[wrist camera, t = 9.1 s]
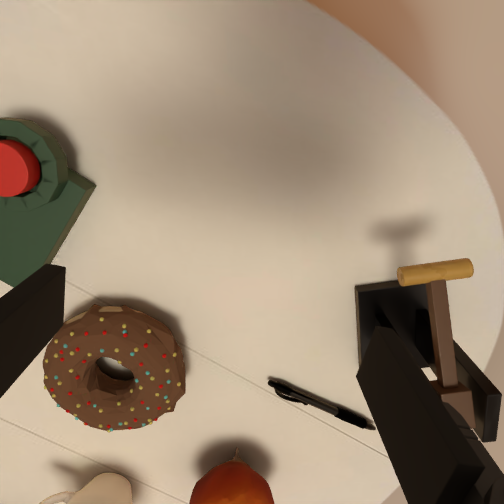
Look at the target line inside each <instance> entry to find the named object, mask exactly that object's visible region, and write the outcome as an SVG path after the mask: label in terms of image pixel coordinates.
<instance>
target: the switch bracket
mask: <svg viewBox="0 0 504 504" xmlns="http://www.w3.org/2000/svg"><path fill="white" fill-rule="evenodd" d="M355 298H356V317H357V336H358V355H359V368H360V365H361V362H362V360H363V357H364V355H365V352H366V350H367V347H368V345H369V342H370V340H371V337H372V334H373V332H374V329H375V327H376V326H380V327H385V328H391V329H393V330H394V332H395V333H396V335H397V336H398V338H399V339H400V341H401V342H402V344H403V345H404V347H405V348H406V350H407V351H408V353H409V354H410V356H411V357H412V359H413V360H414V361H415V363H416V364H417V366H418V367H419V369H420V370H421V372H422V373H423V375H424V376H425V378H426V379H427V381H428V382H429V384H430V385H431V387H432V388H433V390H434V391H435V393H436V394H437V396H438V397H439V399H440V400H441V402H443V401H442V399H441V398H440V396H439V395H438V393H437V392H436V390H435V389H434V387H433V386H432V384H431V383H430V381H429V380H428V378H427V377H426V375H425V374H424V372H423V371H422V369H421V368H425V367H430V368H431V369H432V371H433V372H434V374H435V375H436V377H437V372H436V364H435V356H434V348H433V340H432V332H431V324H430V316H429V308H428V300H427V291H426V283H425V284H417V285H410V286H401V285H400V284H399V281H392V282H384V283H377V284H369V285H362V286H355ZM453 345H454V353H455V362H456V370H457V378H458V381H459V382H461V383H462V384H463V385H465V386H466V387H467V388H469V389H470V390H471V391H472V399H473V407H474V416H475V424H476V428H473V429H474V431H475V432H476V434H477V435H478V436H479V438H480V439H481V441H482V442H492V441H496V437H497V430H498V421H499V412H500V405H501V397H502V394H501V393H500V391H499V390H498V389H497V388H496V387H495V386H494V385H493V384H492V382H491V381H490V380H489V379H488V378H487V377H486V376H485V375H484V373H483V372H482V371H481V370H480V369H479V368H478V367H477V366H476V364H475V363H474V362H473V361H472V360H471V359H470V358H469V357H468V355H467V354H466V353H465V352H464V351H463V350H462V349H461V348H460V346H459V345H458V344H457V343H456V342H455V341H454V340H453Z"/></svg>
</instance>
